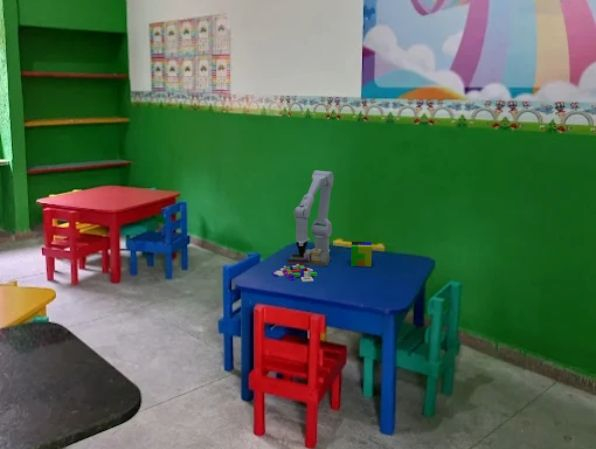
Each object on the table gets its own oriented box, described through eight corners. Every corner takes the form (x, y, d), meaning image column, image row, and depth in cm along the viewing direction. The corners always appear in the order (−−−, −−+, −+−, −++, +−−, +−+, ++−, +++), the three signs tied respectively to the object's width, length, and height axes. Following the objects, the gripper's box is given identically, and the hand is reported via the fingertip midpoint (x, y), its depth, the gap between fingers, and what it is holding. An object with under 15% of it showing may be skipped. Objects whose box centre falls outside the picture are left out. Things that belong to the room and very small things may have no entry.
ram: (307, 256, 318) (307, 249, 317) (312, 256, 317) (312, 249, 316) (303, 260, 310) (303, 253, 310) (309, 261, 310) (309, 253, 309)
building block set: (269, 268, 306) (269, 259, 305) (310, 266, 309) (310, 257, 308) (275, 284, 282) (275, 275, 281) (319, 282, 285) (319, 272, 284)
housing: (312, 258, 316) (312, 248, 314) (321, 258, 315) (321, 248, 314) (311, 260, 311) (311, 250, 310) (320, 261, 310) (320, 251, 309)
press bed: (292, 257, 322) (292, 247, 321) (330, 259, 318) (330, 249, 316) (287, 264, 311) (287, 253, 309) (326, 266, 306) (326, 256, 305)
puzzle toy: (370, 260, 317) (371, 241, 314) (371, 266, 307) (371, 247, 305) (351, 260, 318) (351, 241, 315) (351, 265, 308) (351, 246, 306)
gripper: (309, 233, 304) (309, 260, 307) (310, 226, 318) (310, 252, 321) (294, 233, 304) (294, 260, 307) (296, 226, 318) (296, 252, 322)
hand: (301, 256), depth 314 cm, fingers closed
